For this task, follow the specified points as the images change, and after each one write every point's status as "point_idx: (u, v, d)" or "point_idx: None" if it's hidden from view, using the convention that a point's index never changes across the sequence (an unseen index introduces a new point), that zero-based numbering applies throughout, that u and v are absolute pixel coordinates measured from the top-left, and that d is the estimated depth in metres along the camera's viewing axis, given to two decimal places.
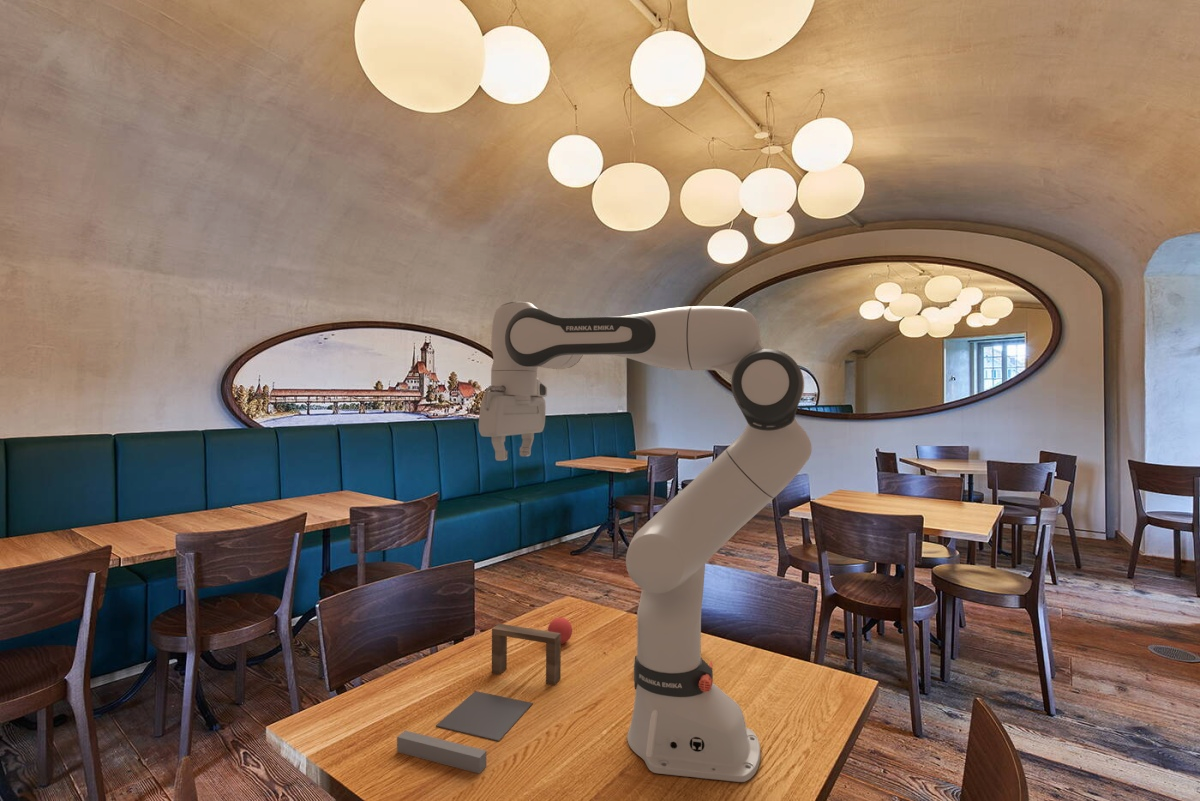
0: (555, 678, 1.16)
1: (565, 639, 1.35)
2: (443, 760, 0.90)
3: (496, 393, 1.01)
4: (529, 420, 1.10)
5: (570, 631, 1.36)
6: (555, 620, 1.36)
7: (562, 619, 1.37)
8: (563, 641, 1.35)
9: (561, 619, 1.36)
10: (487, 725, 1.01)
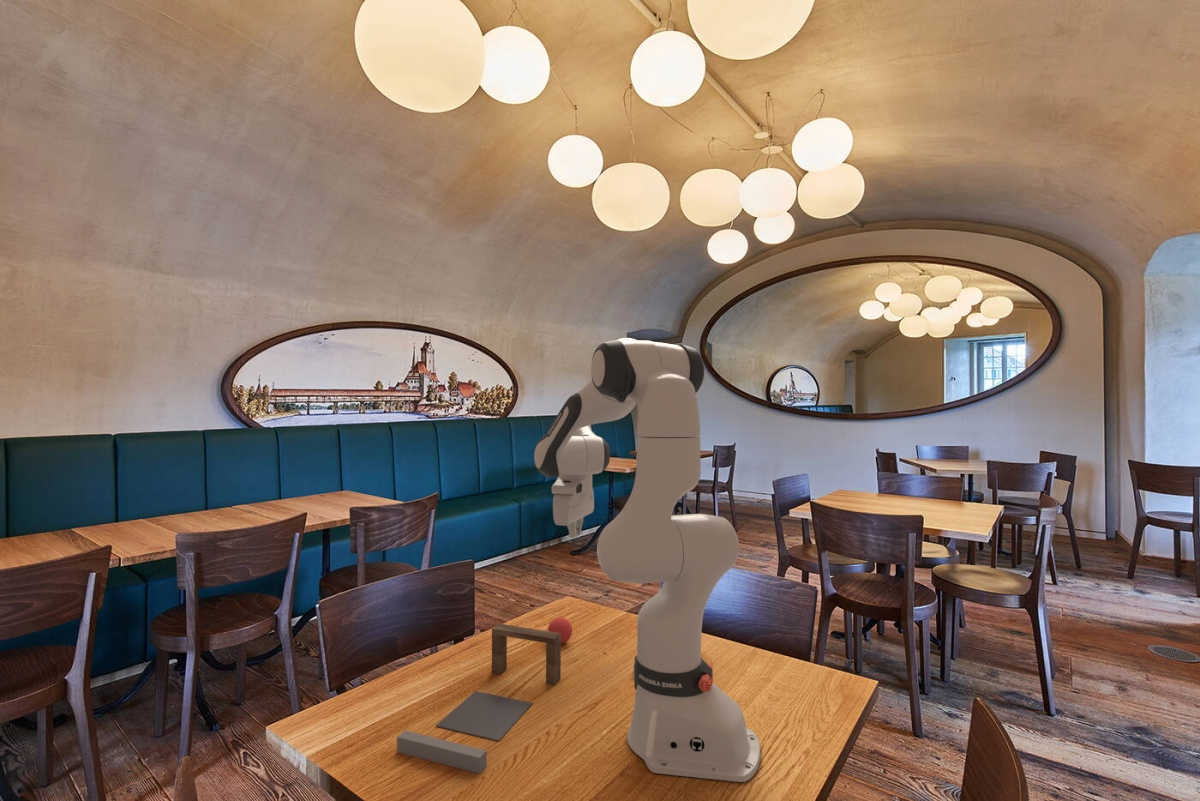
0: (555, 678, 1.16)
1: (565, 639, 1.35)
2: (443, 760, 0.90)
3: None
4: None
5: (570, 631, 1.36)
6: (555, 620, 1.36)
7: (562, 619, 1.37)
8: (563, 641, 1.35)
9: (561, 619, 1.36)
10: (487, 725, 1.01)
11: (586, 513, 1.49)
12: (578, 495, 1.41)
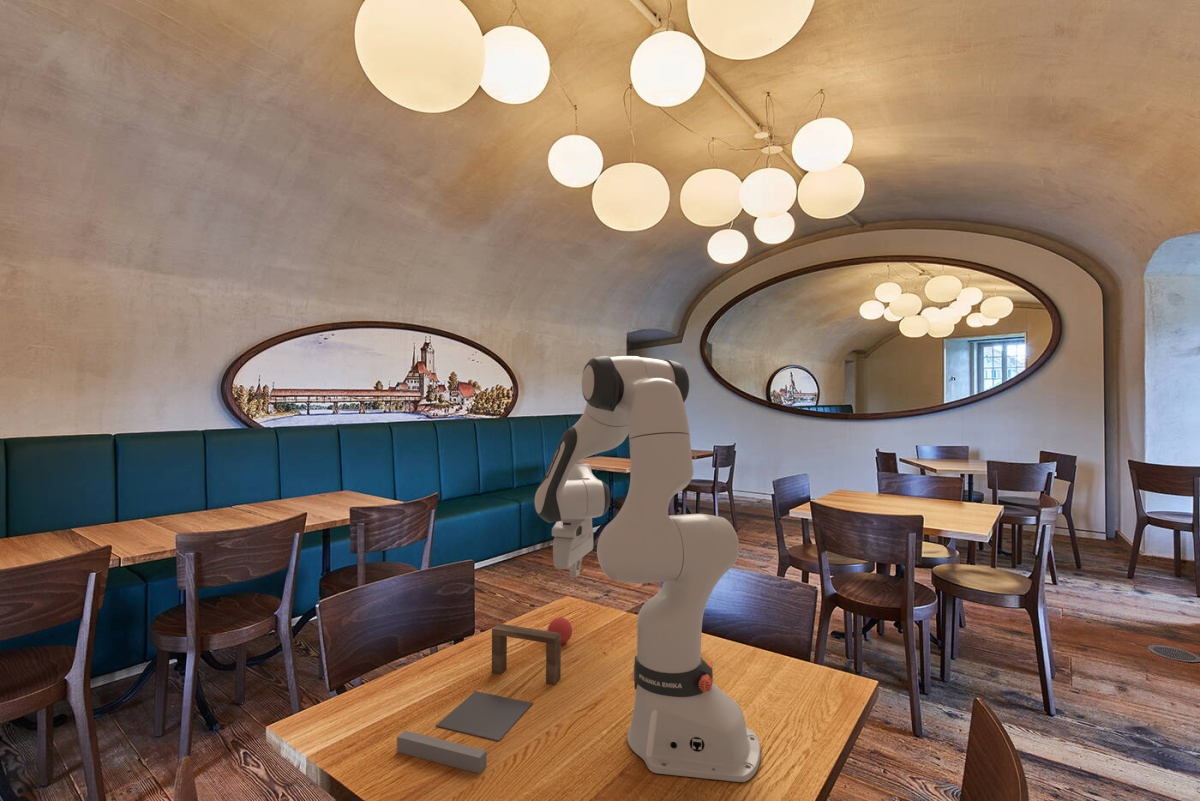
0: (555, 678, 1.16)
1: (565, 639, 1.35)
2: (443, 760, 0.90)
3: None
4: None
5: (570, 631, 1.36)
6: (555, 620, 1.36)
7: (562, 619, 1.37)
8: (563, 641, 1.35)
9: (561, 619, 1.36)
10: (487, 725, 1.01)
11: (585, 552, 1.49)
12: (578, 537, 1.41)
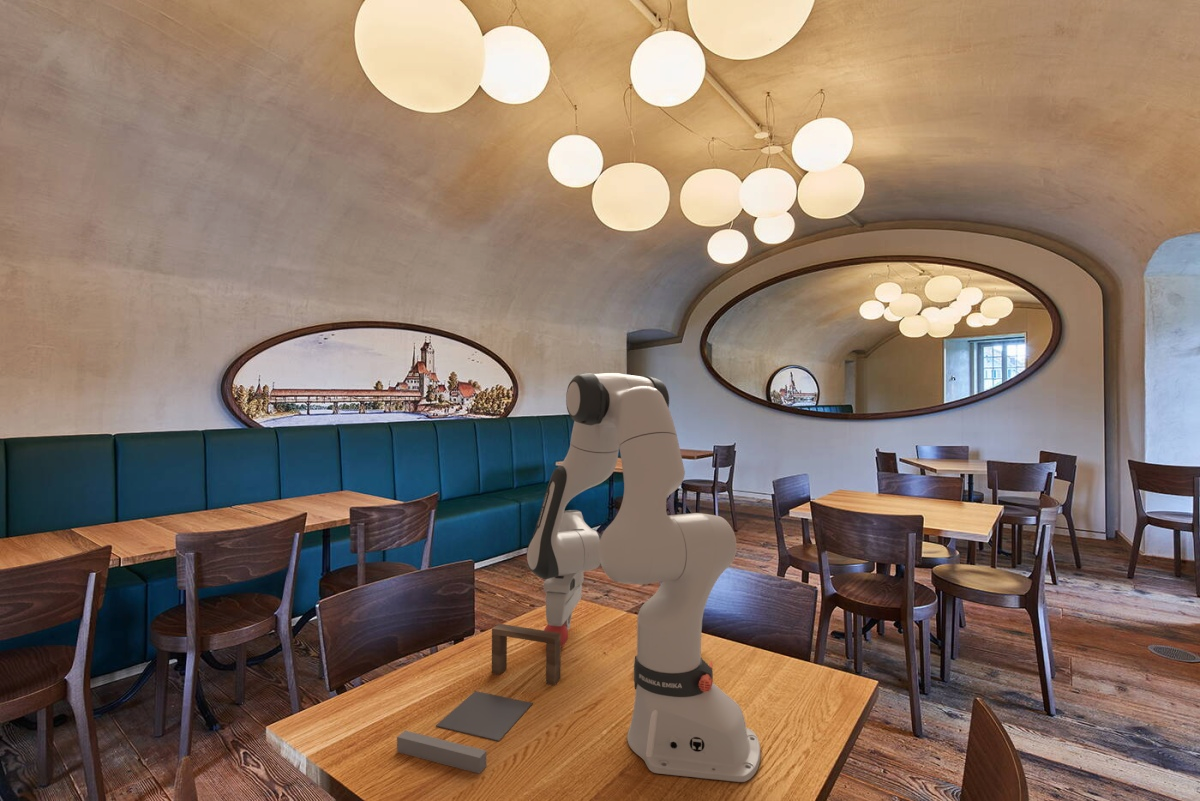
0: (555, 678, 1.16)
1: (563, 644, 1.33)
2: (443, 760, 0.90)
3: None
4: None
5: (566, 636, 1.33)
6: (548, 630, 1.33)
7: (555, 627, 1.33)
8: (561, 645, 1.34)
9: (554, 628, 1.33)
10: (487, 725, 1.01)
11: (576, 604, 1.42)
12: (571, 591, 1.33)
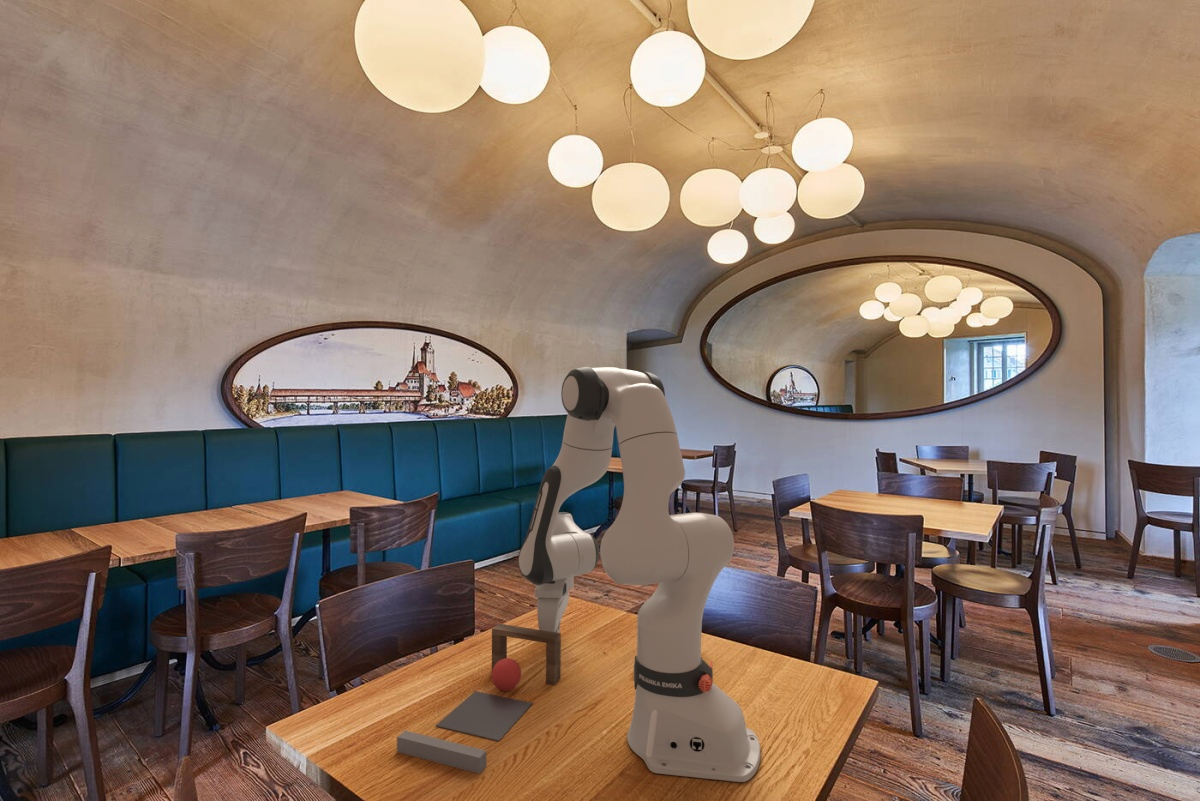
0: (555, 678, 1.16)
1: None
2: (443, 760, 0.90)
3: None
4: None
5: (518, 678, 1.13)
6: (496, 683, 1.12)
7: (502, 681, 1.12)
8: None
9: (501, 682, 1.12)
10: (487, 725, 1.01)
11: (564, 609, 1.38)
12: (563, 596, 1.29)
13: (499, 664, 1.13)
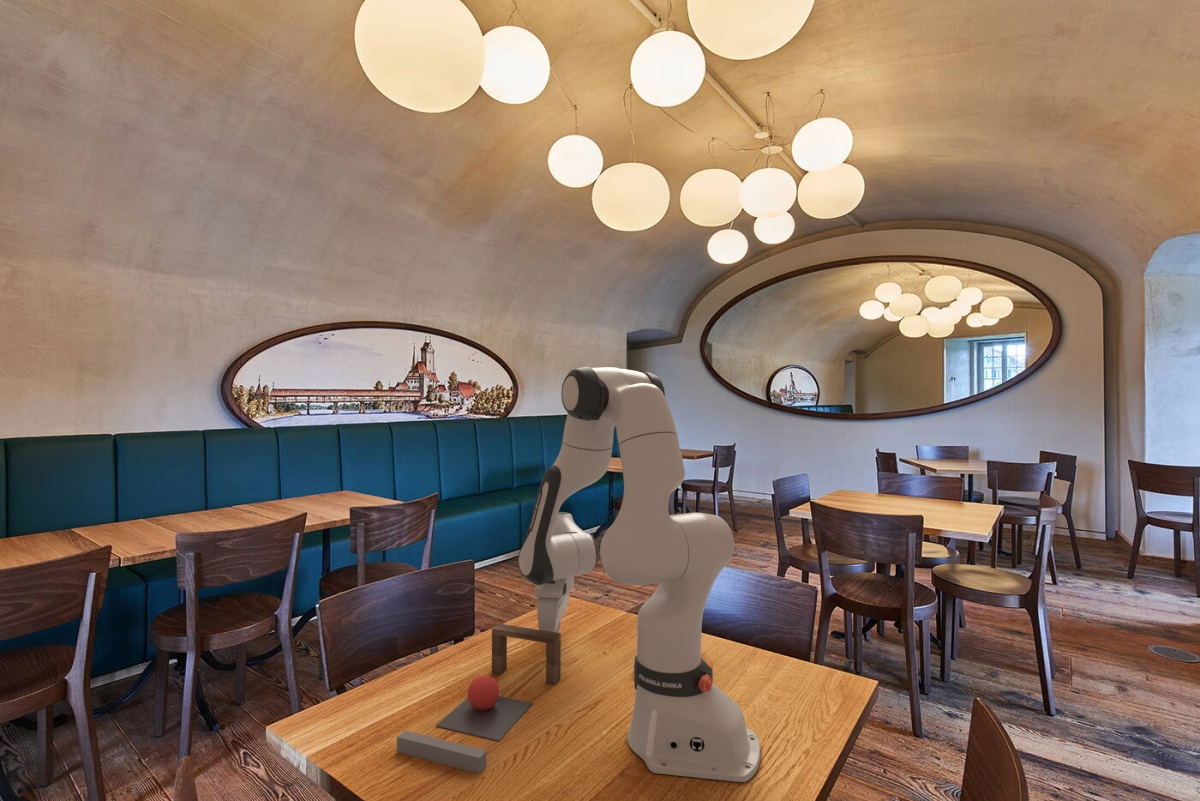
0: (555, 678, 1.16)
1: (491, 686, 1.06)
2: (443, 760, 0.90)
3: None
4: None
5: (497, 695, 1.06)
6: None
7: None
8: (488, 684, 1.06)
9: None
10: (487, 725, 1.01)
11: (564, 609, 1.38)
12: (563, 596, 1.29)
13: None
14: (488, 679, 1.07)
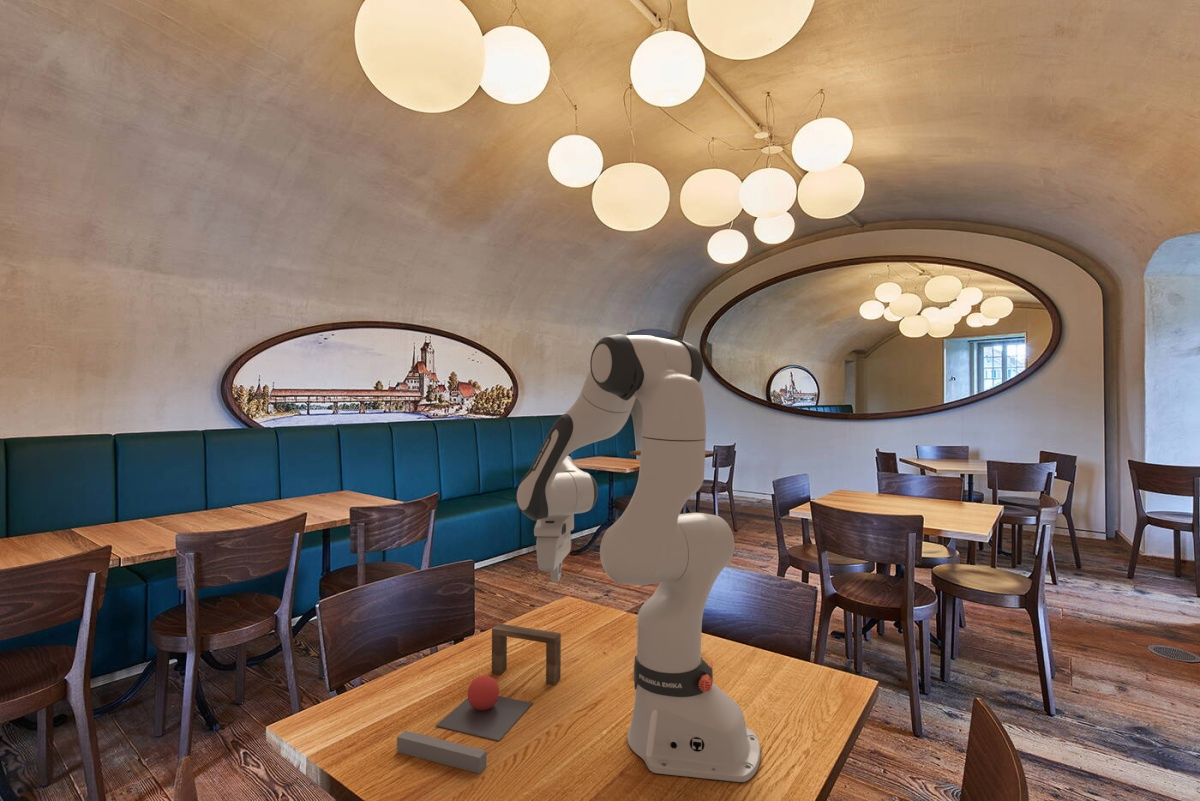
0: (555, 678, 1.16)
1: (491, 686, 1.06)
2: (443, 760, 0.90)
3: None
4: None
5: (497, 695, 1.06)
6: None
7: None
8: (488, 684, 1.06)
9: None
10: (487, 725, 1.01)
11: (566, 554, 1.37)
12: (562, 536, 1.29)
13: None
14: (488, 679, 1.07)
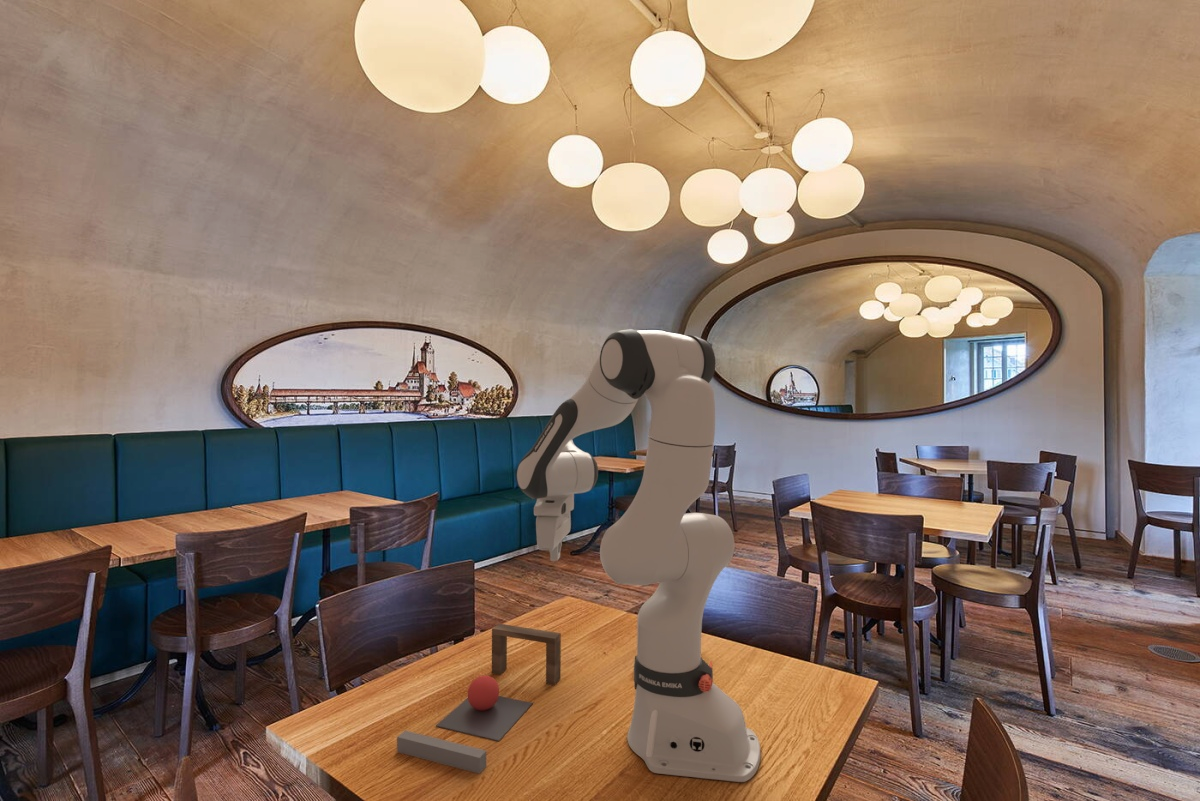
0: (555, 678, 1.16)
1: (491, 686, 1.06)
2: (443, 760, 0.90)
3: None
4: None
5: (497, 695, 1.06)
6: None
7: None
8: (488, 684, 1.06)
9: None
10: (487, 725, 1.01)
11: (565, 534, 1.38)
12: (562, 516, 1.29)
13: None
14: (488, 679, 1.07)
